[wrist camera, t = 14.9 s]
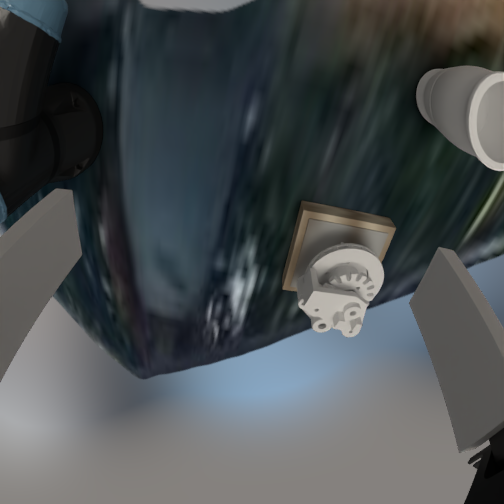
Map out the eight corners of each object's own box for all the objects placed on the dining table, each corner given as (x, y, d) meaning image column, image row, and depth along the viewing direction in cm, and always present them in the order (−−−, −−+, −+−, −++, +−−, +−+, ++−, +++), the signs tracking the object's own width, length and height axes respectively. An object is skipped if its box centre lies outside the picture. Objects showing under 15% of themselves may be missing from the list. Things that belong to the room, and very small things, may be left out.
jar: (449, 146, 36) (509, 188, 24) (395, 108, 35) (452, 137, 22) (478, 89, 31) (547, 113, 18) (426, 46, 29) (494, 50, 17)
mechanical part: (387, 255, 44) (413, 311, 34) (332, 301, 49) (342, 360, 40) (338, 210, 40) (358, 264, 31) (280, 266, 46) (281, 327, 36)
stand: (282, 277, 51) (282, 290, 49) (301, 200, 43) (303, 211, 41) (360, 288, 52) (364, 301, 49) (389, 218, 44) (396, 229, 41)
